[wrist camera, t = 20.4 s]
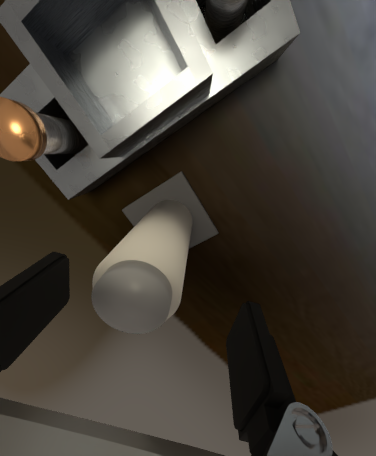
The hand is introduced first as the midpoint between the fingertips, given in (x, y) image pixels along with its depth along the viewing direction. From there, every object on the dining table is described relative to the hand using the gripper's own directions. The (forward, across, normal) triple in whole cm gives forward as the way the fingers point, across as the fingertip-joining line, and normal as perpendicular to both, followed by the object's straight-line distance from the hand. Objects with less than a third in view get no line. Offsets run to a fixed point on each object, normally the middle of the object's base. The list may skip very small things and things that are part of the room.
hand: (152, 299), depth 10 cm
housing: (+13, +6, -11) cm, 19 cm away
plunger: (+12, +12, -6) cm, 18 cm away
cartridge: (+12, +1, +1) cm, 13 cm away
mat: (+13, +1, +1) cm, 13 cm away
